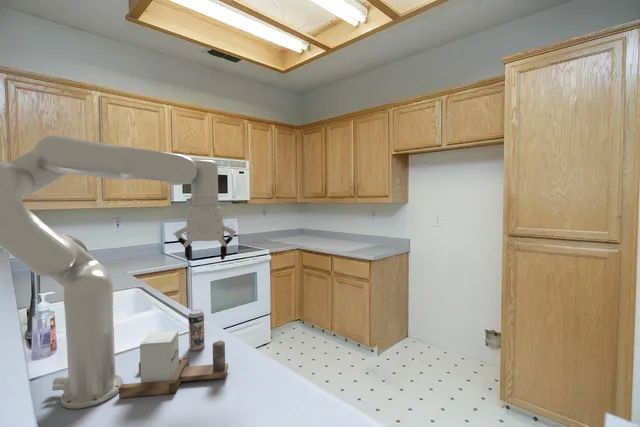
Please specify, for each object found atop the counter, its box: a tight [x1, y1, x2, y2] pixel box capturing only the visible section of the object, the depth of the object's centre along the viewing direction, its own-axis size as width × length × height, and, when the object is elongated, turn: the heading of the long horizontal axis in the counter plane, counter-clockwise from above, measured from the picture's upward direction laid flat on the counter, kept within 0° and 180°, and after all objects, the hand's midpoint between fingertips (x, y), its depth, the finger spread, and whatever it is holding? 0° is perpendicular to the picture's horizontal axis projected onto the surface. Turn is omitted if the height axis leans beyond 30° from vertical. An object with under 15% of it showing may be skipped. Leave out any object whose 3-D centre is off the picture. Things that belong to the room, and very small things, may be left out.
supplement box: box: [139, 330, 180, 383], centre depth 83 cm, size 7×7×13 cm
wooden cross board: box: [118, 340, 229, 399], centre depth 85 cm, size 24×13×9 cm, turn 98°
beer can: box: [187, 309, 206, 351], centre depth 103 cm, size 5×5×12 cm
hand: (206, 259), depth 95 cm, fingers open, 9 cm apart
